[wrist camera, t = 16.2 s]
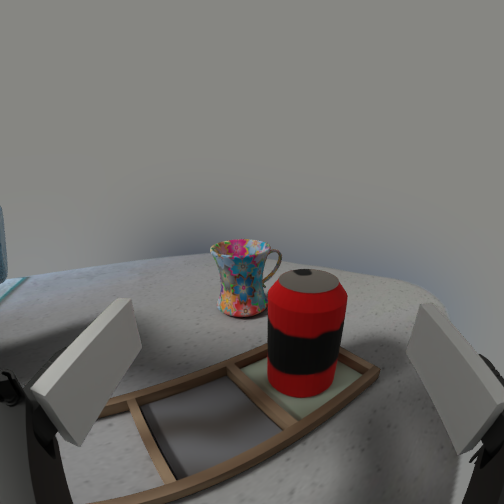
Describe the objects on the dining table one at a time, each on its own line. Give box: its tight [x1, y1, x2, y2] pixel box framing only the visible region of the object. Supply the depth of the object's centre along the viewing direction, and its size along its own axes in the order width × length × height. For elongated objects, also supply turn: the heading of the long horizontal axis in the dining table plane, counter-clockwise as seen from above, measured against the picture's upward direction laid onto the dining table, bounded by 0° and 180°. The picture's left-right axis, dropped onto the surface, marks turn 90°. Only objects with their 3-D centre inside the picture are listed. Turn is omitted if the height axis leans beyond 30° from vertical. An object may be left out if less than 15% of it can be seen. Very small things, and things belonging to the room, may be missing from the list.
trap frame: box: [88, 343, 381, 504], centre depth 22 cm, size 13×37×2 cm, turn 124°
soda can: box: [267, 269, 348, 398], centre depth 27 cm, size 8×8×12 cm
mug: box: [210, 239, 282, 317], centre depth 45 cm, size 12×9×11 cm
